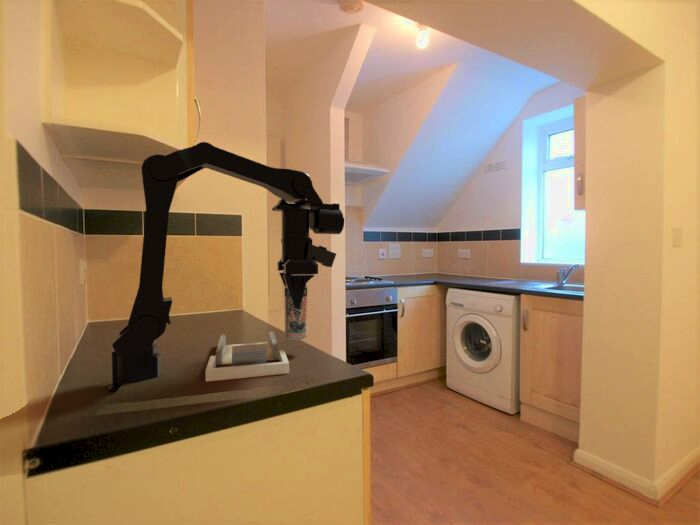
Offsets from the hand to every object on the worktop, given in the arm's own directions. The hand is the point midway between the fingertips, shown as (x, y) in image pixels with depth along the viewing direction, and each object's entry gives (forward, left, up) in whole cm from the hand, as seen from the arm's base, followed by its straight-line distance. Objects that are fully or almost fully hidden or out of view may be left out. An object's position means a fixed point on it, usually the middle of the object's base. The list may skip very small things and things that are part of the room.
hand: (295, 306), depth 76 cm
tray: (-10, -7, -11) cm, 17 cm away
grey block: (-10, -7, -11) cm, 16 cm away
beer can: (0, 0, -7) cm, 7 cm away
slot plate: (-10, +5, -11) cm, 16 cm away
